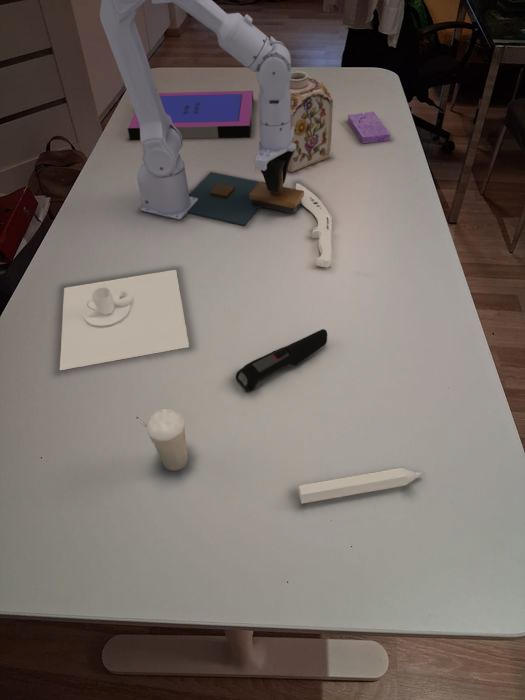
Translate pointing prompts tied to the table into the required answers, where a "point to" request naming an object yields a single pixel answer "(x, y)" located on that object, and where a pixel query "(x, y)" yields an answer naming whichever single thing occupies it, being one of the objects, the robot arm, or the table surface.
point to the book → (206, 114)
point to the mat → (222, 209)
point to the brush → (276, 197)
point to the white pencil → (356, 484)
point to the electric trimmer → (280, 359)
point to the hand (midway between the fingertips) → (276, 186)
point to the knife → (319, 226)
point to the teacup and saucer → (122, 319)
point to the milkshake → (168, 437)
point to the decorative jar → (309, 120)
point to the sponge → (368, 127)
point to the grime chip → (222, 191)
